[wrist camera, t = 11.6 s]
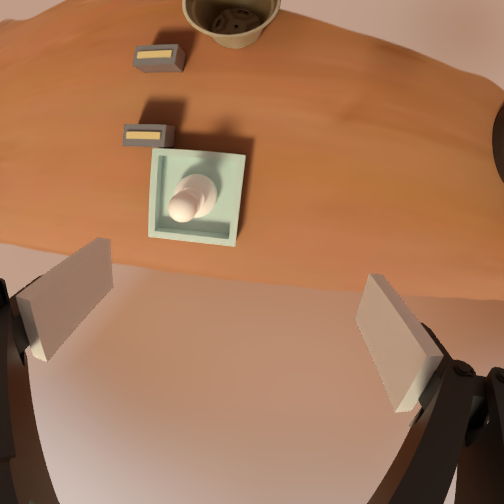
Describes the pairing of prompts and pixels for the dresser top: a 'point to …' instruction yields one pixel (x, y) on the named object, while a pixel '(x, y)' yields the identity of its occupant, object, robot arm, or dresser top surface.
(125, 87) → the dresser top surface
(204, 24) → the flower pot
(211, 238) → the tray
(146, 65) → the fuse holder
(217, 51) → the dresser top surface
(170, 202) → the chess pawn
